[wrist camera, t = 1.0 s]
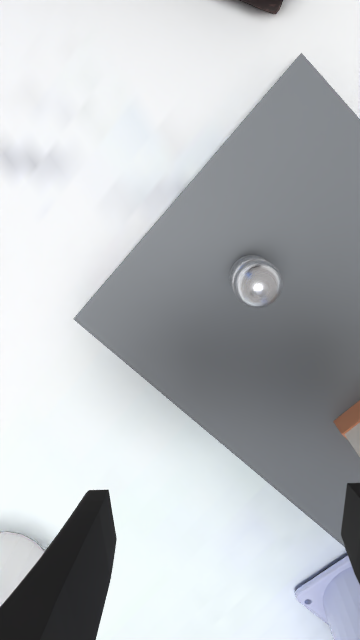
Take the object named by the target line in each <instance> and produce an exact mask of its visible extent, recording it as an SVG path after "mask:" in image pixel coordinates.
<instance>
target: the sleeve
mask: <svg viewBox="0 0 360 640" xmlns="http://www.w3.org/2000/svg"><path fill="white" fill-rule="evenodd" d="M333 422H334V423H335V425H336V426H337V428H338V429H339V431H340V433H341V434H342V435H343V436H344V437H345V438H346V439H347V440H348V441H349V442H350V443H351V445H352V446H353V448H354V449H355V451H356V452H357V454H358V455H359V457H360V400H359V401H358V402H357V403H356V404H354V405H353V406H352V407H351V408H349V409H348V410H347V411H346V412H344V413H343V414H342V415H341V416H339V417H338V418H337V419H336V420H334V421H333Z"/></svg>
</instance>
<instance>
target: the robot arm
mask: <svg viewBox="0 0 360 640" xmlns="http://www.w3.org/2000/svg"><path fill="white" fill-rule="evenodd" d="M341 537H342V539H343V542H344V545H345V548H346V551H347V554H348V555H347V556H346V557H344V558H343V559H341V560H340V561H338V562H337V563H335V564H334V565H332V566H331V567H329V568H328V569H326V570H325V571H323V572H322V573H320V574H319V575H317V576H316V577H314V578H313V579H311V580H310V581H308V582H307V583H305V584H304V585H302V586H301V587H299V588H298V589H297V590H296V591H295V596H296V599H297V601H298V602H300V603H301V604H302V605H304V606H305V607H306V608H307V609H309V610H310V611H311V612H313V613H314V614H315V615H316V616H318V617H319V618H320V619H322V620H323V621H324V622H325V623H327V624H328V625H329V626H330V629H331V632H332V635H333V639H334V640H360V483H347V488H346V496H345V504H344V512H343V520H342V528H341ZM115 546H116V533H115V527H114V521H113V515H112V508H111V502H110V496H109V490H89V491H88V492H87V493H86V494H85V495H84V497H83V498H82V500H81V501H80V503H79V504H78V506H77V507H76V509H75V510H74V512H73V513H72V515H71V516H70V518H69V519H68V520H67V522H66V523H65V525H64V526H63V528H62V529H61V530H60V532H59V533H58V535H57V536H56V537H55V539H54V540H53V541H52V543H51V544H50V545H49V547H48V548H47V549H46V551H45V552H44V553H43V555H42V556H41V557H40V559H39V560H38V561H37V563H36V564H35V565H34V566H33V568H32V569H31V570H30V571H29V573H28V574H27V575H26V576H25V577H24V579H23V580H22V581H21V582H20V584H19V585H18V586H17V587H16V589H15V590H14V591H13V592H12V593H11V595H10V596H9V597H8V598H7V599H6V600H5V602H4V603H3V604H2V605H1V606H0V640H96V636H97V632H98V628H99V624H100V620H101V616H102V612H103V608H104V604H105V600H106V596H107V591H108V587H109V583H110V579H111V573H112V567H113V560H114V553H115Z"/></svg>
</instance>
